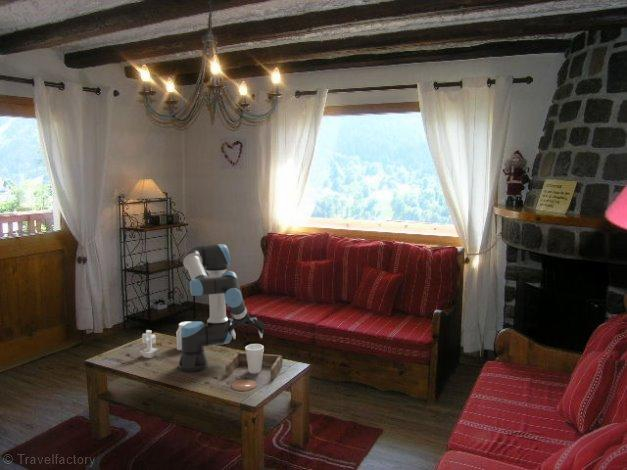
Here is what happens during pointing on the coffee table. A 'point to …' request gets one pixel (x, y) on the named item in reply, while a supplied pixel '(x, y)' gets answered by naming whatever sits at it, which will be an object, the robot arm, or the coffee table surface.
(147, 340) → the figurine
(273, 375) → the wooden tray
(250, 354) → the foam cup
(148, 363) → the coffee table surface
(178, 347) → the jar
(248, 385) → the terracotta pad
